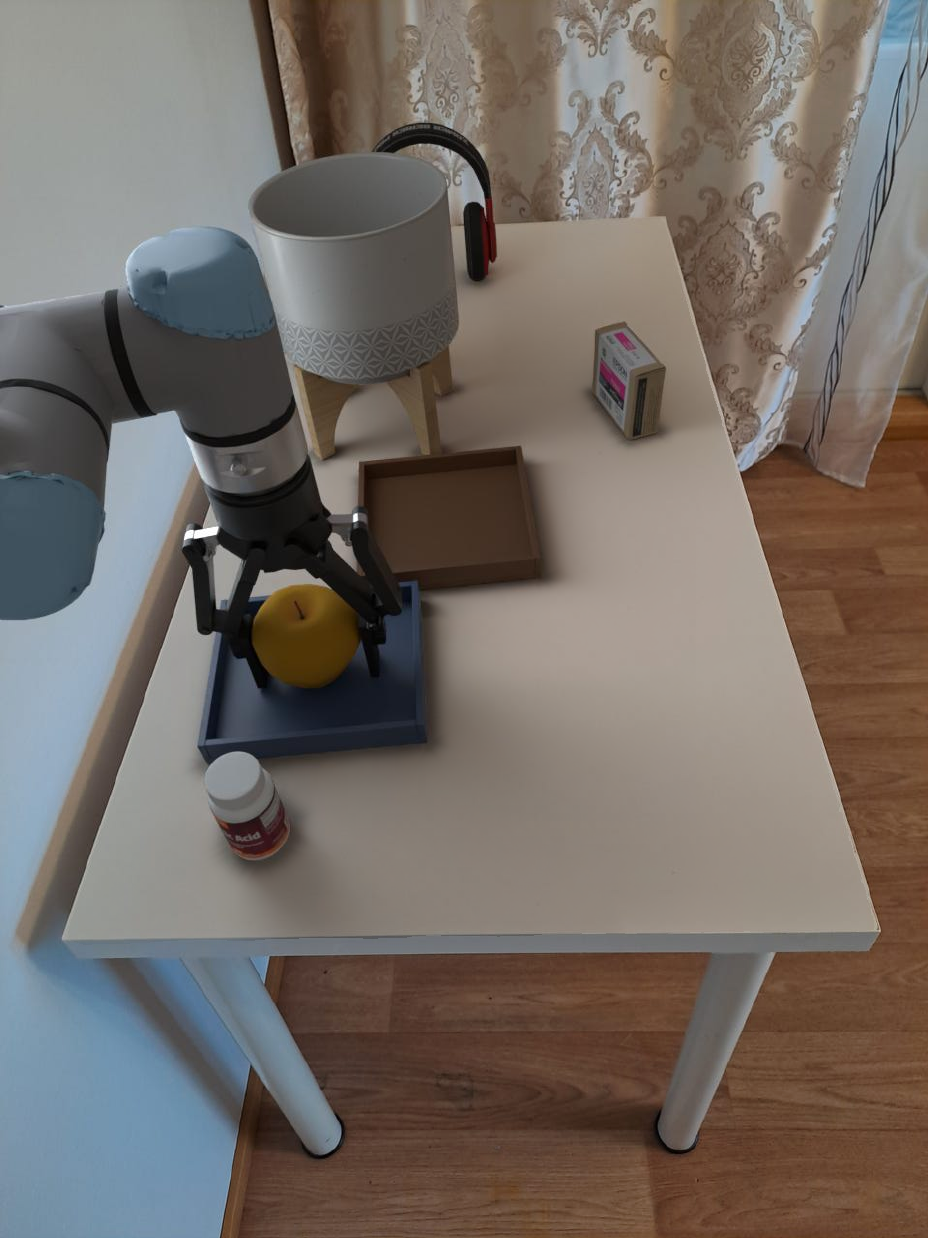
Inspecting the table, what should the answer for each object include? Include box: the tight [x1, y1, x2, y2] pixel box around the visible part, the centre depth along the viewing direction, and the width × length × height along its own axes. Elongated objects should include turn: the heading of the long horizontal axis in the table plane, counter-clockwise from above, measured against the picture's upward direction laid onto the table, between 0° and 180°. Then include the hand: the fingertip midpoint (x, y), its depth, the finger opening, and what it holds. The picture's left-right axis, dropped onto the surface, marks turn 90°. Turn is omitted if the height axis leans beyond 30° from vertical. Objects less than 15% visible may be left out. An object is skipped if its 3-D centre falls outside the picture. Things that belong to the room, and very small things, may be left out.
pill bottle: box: [203, 752, 291, 861], centre depth 66 cm, size 5×5×8 cm
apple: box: [251, 583, 361, 688], centre depth 76 cm, size 9×9×9 cm
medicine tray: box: [355, 445, 542, 591], centre depth 90 cm, size 17×17×3 cm
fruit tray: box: [197, 581, 428, 765], centre depth 78 cm, size 18×16×3 cm
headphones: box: [371, 122, 498, 282], centre depth 118 cm, size 18×10×20 cm, turn 92°
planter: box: [247, 151, 460, 461], centre depth 95 cm, size 19×19×26 cm
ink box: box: [591, 321, 667, 441], centre depth 99 cm, size 10×4×8 cm, turn 18°
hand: (319, 670), depth 79 cm, fingers closed on apple, 9 cm apart
